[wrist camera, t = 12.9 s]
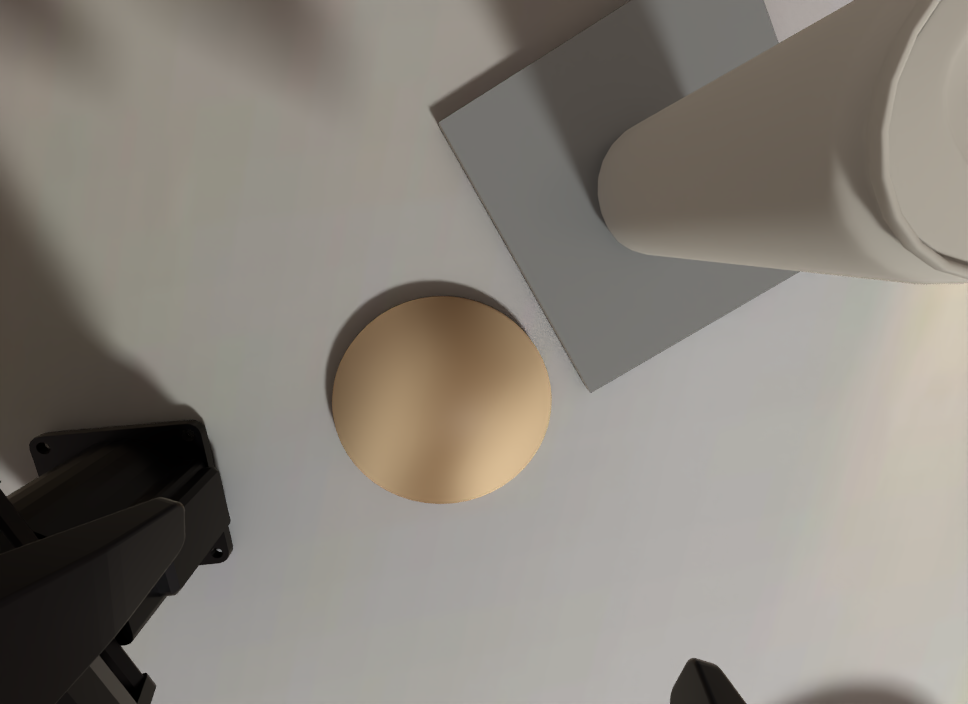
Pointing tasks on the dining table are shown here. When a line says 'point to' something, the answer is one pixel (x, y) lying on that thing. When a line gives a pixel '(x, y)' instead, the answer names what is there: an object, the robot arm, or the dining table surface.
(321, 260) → the dining table surface
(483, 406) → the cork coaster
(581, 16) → the dining table surface
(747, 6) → the slate coaster
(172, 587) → the robot arm
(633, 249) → the beverage can
